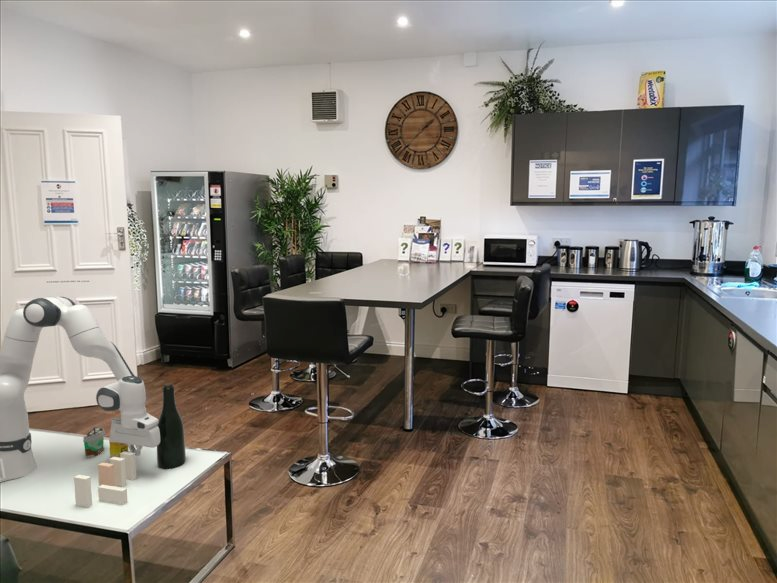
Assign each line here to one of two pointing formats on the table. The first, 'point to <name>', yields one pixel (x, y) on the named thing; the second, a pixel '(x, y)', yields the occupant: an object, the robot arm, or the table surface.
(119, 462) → the domino
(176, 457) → the dark green wine bottle
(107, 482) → the domino
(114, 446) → the supplement bottle
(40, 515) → the table surface
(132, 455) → the domino
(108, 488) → the domino
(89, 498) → the domino
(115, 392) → the robot arm
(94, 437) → the food container
